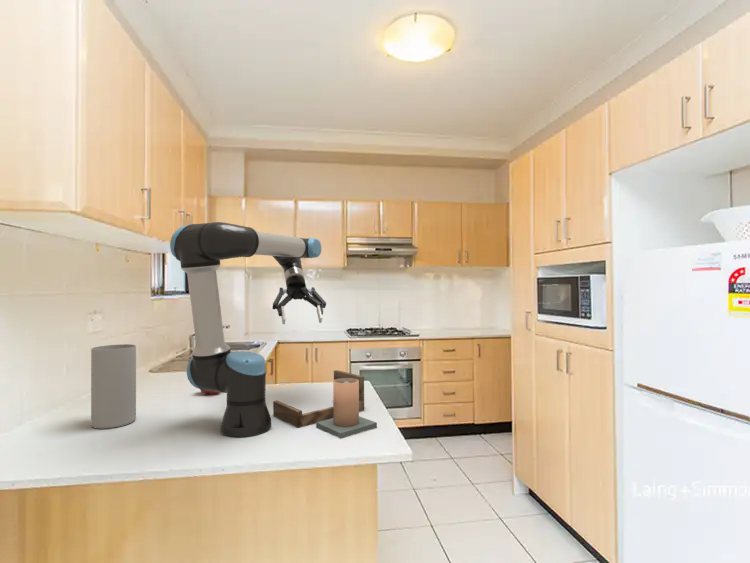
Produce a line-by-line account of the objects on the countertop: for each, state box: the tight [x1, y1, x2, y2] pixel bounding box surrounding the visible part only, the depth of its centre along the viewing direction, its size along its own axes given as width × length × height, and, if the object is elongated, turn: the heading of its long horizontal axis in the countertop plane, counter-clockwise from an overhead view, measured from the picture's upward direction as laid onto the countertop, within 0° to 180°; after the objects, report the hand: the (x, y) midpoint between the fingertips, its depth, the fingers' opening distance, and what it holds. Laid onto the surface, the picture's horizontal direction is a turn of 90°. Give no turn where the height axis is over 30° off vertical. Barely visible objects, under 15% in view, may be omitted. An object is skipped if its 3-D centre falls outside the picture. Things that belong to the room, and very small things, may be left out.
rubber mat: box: [315, 415, 378, 439], centre depth 131 cm, size 14×13×2 cm
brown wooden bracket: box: [272, 369, 365, 429], centre depth 146 cm, size 27×16×12 cm, turn 131°
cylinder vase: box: [90, 343, 137, 430], centre depth 137 cm, size 12×12×25 cm
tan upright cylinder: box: [332, 378, 360, 426], centre depth 131 cm, size 8×8×13 cm
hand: (302, 321), depth 153 cm, fingers open, 13 cm apart
